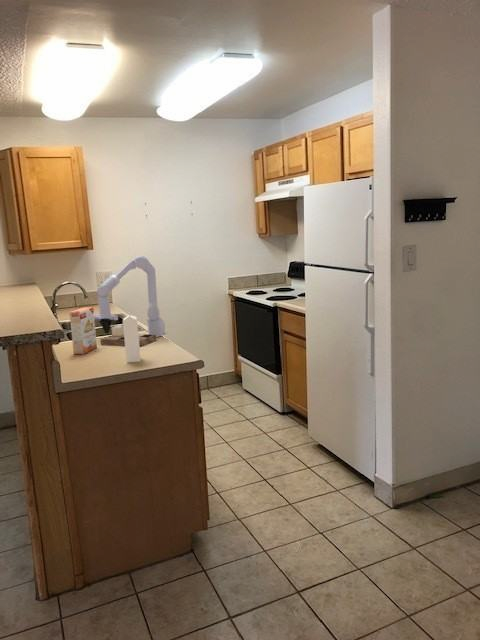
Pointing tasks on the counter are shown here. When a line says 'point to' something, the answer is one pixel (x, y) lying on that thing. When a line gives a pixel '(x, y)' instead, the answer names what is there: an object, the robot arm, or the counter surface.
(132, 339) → the milk
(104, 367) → the counter surface
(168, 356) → the counter surface
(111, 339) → the trap board
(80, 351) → the cracker box
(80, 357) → the counter surface
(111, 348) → the counter surface
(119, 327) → the block
